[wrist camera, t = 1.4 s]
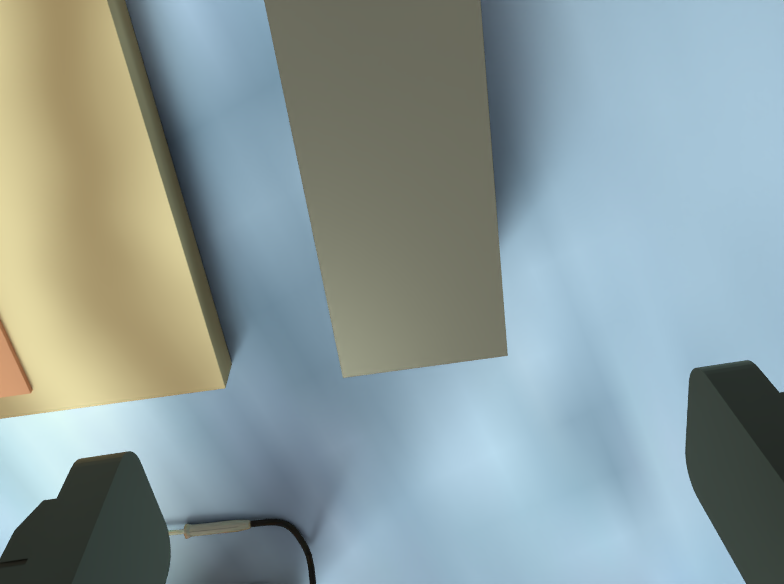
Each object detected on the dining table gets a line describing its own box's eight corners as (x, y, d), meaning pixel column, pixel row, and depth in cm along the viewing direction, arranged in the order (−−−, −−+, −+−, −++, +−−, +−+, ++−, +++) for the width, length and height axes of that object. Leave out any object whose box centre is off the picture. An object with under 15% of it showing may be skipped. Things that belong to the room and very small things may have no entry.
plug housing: (452, -59, 21) (477, -42, 16) (482, 275, 26) (507, 355, 22) (282, -33, 21) (262, -9, 17) (346, 294, 26) (343, 377, 22)
